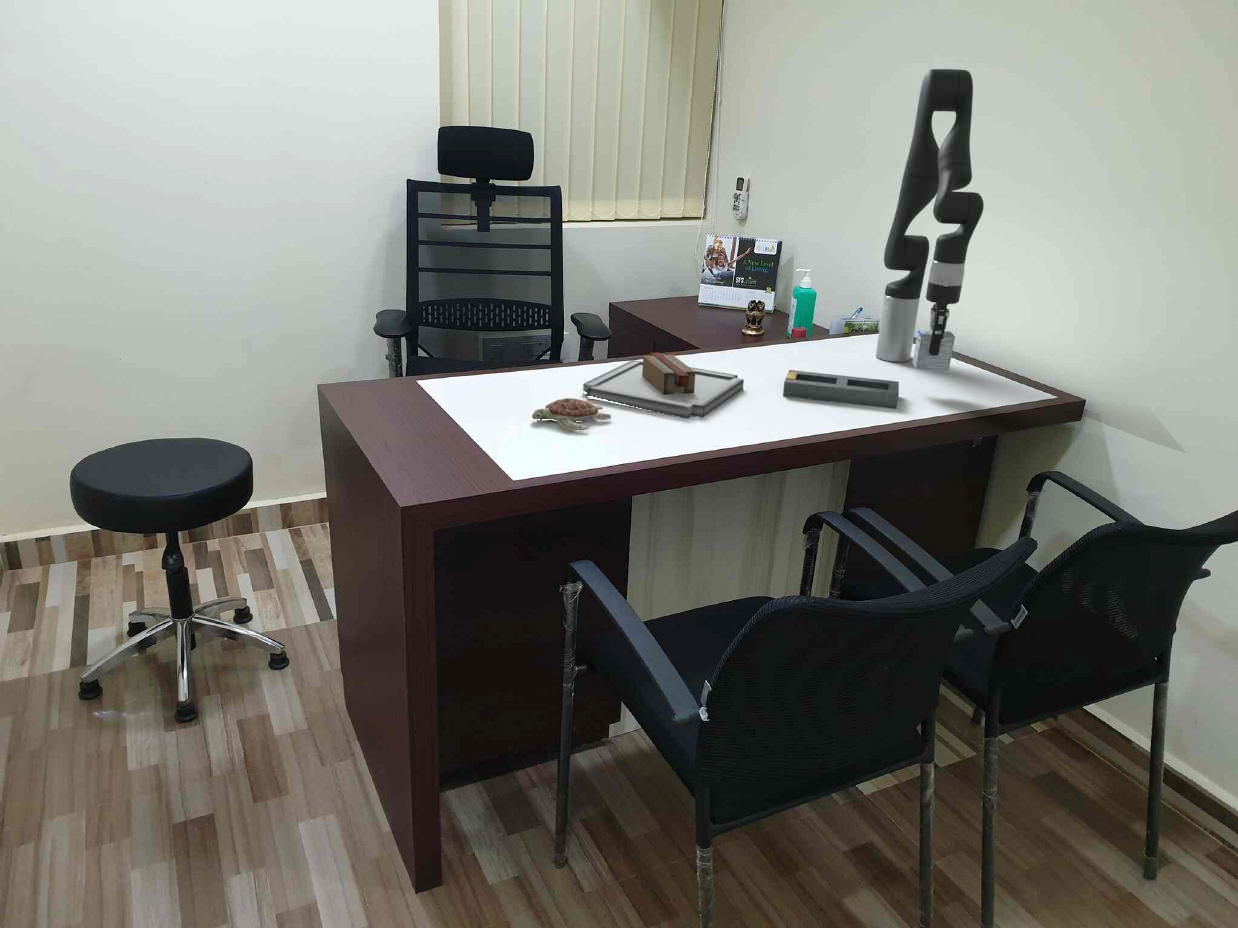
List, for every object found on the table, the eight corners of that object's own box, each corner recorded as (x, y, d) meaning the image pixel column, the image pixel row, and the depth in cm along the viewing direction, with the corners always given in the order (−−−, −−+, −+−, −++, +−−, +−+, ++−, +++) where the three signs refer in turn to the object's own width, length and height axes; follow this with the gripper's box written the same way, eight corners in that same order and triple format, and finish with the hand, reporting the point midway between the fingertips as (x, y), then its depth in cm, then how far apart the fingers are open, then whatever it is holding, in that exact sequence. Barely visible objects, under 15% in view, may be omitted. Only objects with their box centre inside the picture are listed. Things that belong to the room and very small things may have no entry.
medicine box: (944, 366, 222) (951, 331, 218) (949, 371, 217) (955, 335, 214) (911, 364, 222) (917, 329, 219) (915, 369, 218) (921, 333, 215)
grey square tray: (577, 399, 210) (578, 367, 207) (636, 369, 235) (637, 341, 232) (697, 423, 197) (700, 390, 194) (746, 389, 222) (749, 359, 219)
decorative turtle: (521, 411, 200) (521, 389, 198) (593, 405, 206) (593, 384, 204) (543, 438, 184) (543, 415, 182) (621, 431, 190) (621, 408, 188)
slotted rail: (787, 383, 226) (789, 369, 224) (896, 395, 219) (898, 380, 218) (782, 396, 216) (784, 381, 214) (896, 409, 210) (898, 393, 208)
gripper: (927, 274, 219) (916, 343, 226) (929, 285, 206) (917, 358, 213) (960, 276, 217) (948, 346, 224) (964, 288, 204) (951, 361, 211)
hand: (933, 351), depth 218 cm, fingers closed on medicine box, 5 cm apart
